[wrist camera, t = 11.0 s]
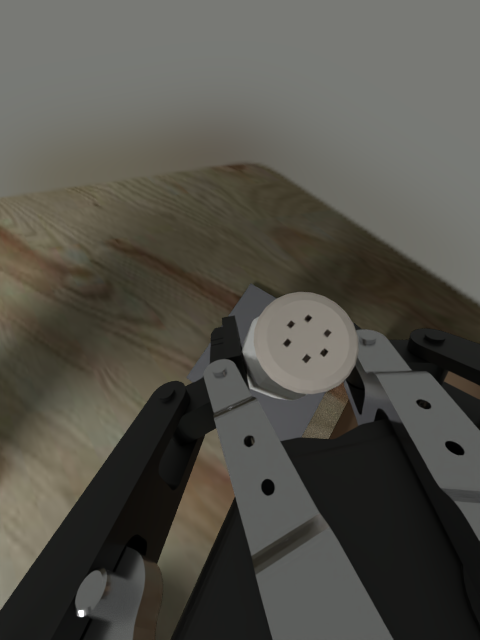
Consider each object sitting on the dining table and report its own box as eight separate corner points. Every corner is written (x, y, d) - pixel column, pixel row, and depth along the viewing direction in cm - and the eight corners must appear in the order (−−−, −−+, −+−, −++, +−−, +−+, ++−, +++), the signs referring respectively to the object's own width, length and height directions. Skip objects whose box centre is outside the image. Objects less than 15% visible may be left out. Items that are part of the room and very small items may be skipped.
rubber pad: (188, 377, 17) (186, 377, 17) (250, 286, 19) (250, 283, 18) (290, 451, 15) (291, 454, 15) (349, 342, 17) (352, 342, 17)
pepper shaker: (222, 363, 16) (163, 345, 5) (267, 314, 17) (291, 215, 6) (275, 413, 15) (330, 516, 4) (320, 358, 16) (462, 329, 5)
